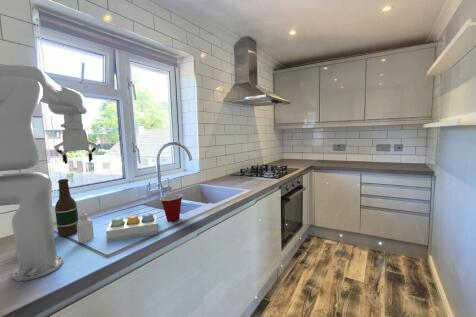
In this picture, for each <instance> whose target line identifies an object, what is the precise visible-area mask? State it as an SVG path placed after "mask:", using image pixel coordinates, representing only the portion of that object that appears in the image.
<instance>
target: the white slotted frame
mask: <svg viewBox="0 0 476 317" xmlns="http://www.w3.org/2000/svg"><path fill="white" fill-rule="evenodd" d="M138 219H139V223H138V224H132V225H128V221H127V218H123V222H124V226H118V227H112V220H110V221H109V224H108V227H107V228H106V230H105V233H106V235H105V236H106V242H107V243H109V242H115V241H123V240H127V239H135V238H139V237H140V236H141V237H145V235H147V236H151V235H150V234H153V235H158V225H157V224H158V223H157V214H153V221H152V222H145V223H143V219H142V216H138Z"/></svg>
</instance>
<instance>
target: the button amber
mask: <svg viewBox="0 0 476 317" xmlns="http://www.w3.org/2000/svg"><path fill="white" fill-rule="evenodd" d="M138 217H139V215H138V214H136V215H135V214H133V215H129V216H127V218H126V219H127V221H128V225H132V224H138V223H139V219H138Z"/></svg>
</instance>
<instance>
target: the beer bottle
mask: <svg viewBox="0 0 476 317" xmlns="http://www.w3.org/2000/svg"><path fill="white" fill-rule="evenodd" d="M57 183H58V200H57V202H56V203H55V208H54V213H55V221H56V228H57V235H58V236H59V237H63V238H64V237H70V236H73V235H76V234H77V223H78V222H80V221H79V214H78V213H79V212H78V206H77V202H76V200H75V199H74V198H73V197H72V196H71V195H72V194H71V192H70V191H71V190H70V187H69V179H68V178H63V179H62V178H61V179H59V180H58V181H57Z"/></svg>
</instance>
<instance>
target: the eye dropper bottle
mask: <svg viewBox="0 0 476 317" xmlns="http://www.w3.org/2000/svg"><path fill="white" fill-rule="evenodd" d="M79 216H80V221H79V222H78V223H77V233H76V234H77V241H78V242H79V243H86V242H88V241H90V240H92V239H94V237H95V232H94V225H93V220H92V219H90V218H88V214H87V213H85V210H83V211H82V212H81V214H80V215H79Z"/></svg>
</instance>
